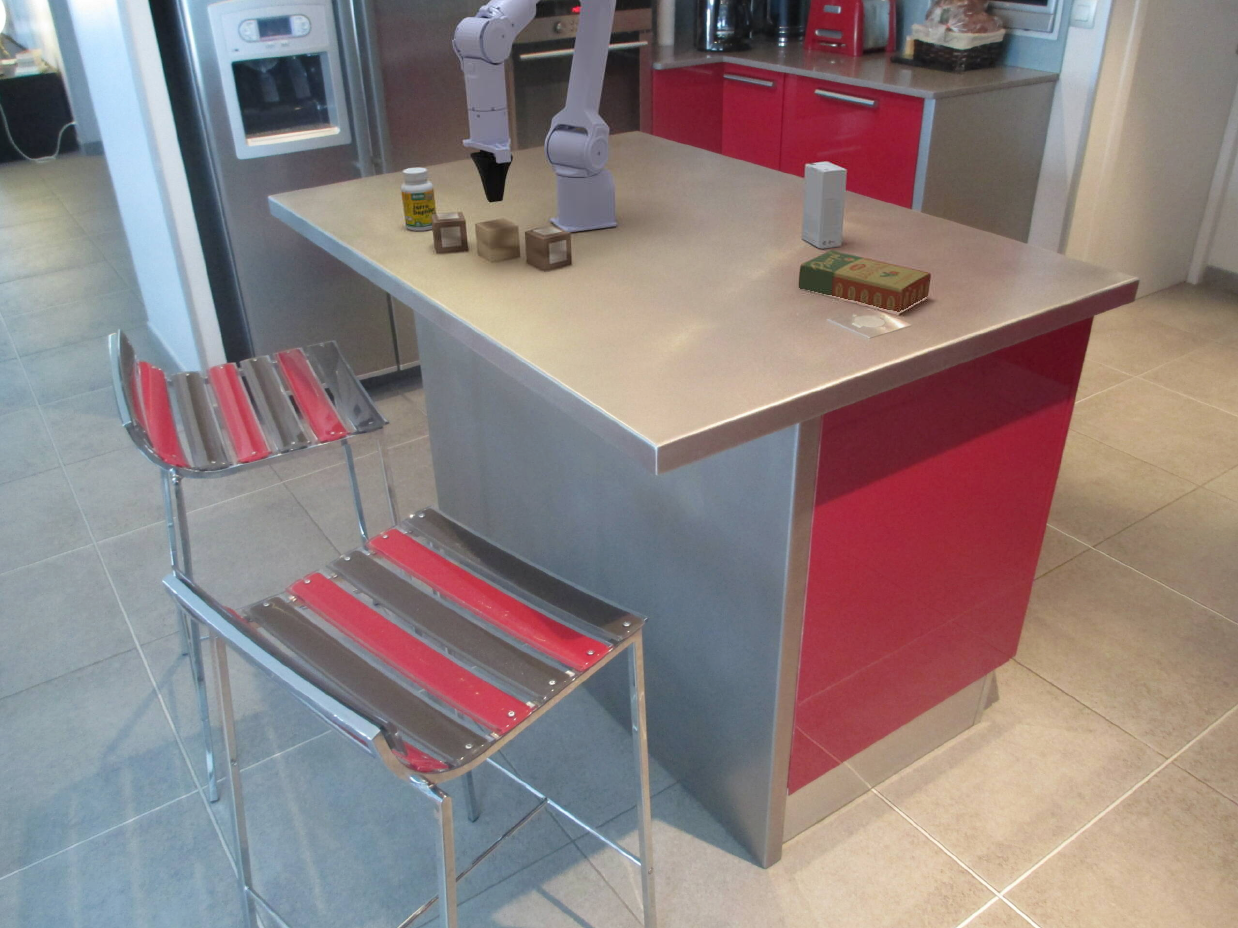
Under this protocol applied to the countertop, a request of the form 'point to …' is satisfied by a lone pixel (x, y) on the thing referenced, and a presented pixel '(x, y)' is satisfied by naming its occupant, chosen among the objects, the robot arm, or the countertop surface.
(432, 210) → the supplement bottle
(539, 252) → the walnut block
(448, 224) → the walnut block
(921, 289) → the carton
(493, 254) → the oak block
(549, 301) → the countertop surface
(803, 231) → the skincare box
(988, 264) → the countertop surface
